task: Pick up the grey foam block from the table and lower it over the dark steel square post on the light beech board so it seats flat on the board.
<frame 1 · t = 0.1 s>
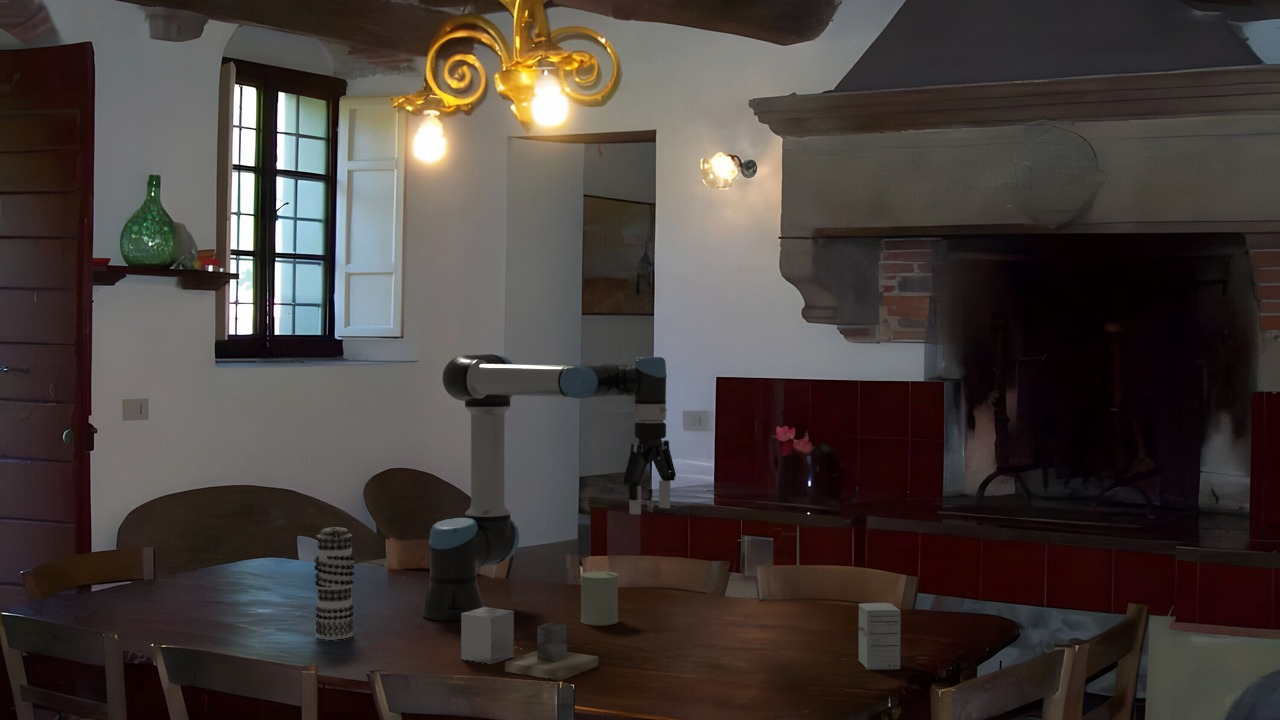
hand: (650, 510, 318), 28 cm above the table, fingers open, 13 cm apart
grey foam block: (487, 658, 288), on the table
can: (599, 622, 326), on the table
post board: (552, 668, 279), on the table
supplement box: (879, 666, 283), on the table
white and black cylinder: (334, 637, 309), on the table
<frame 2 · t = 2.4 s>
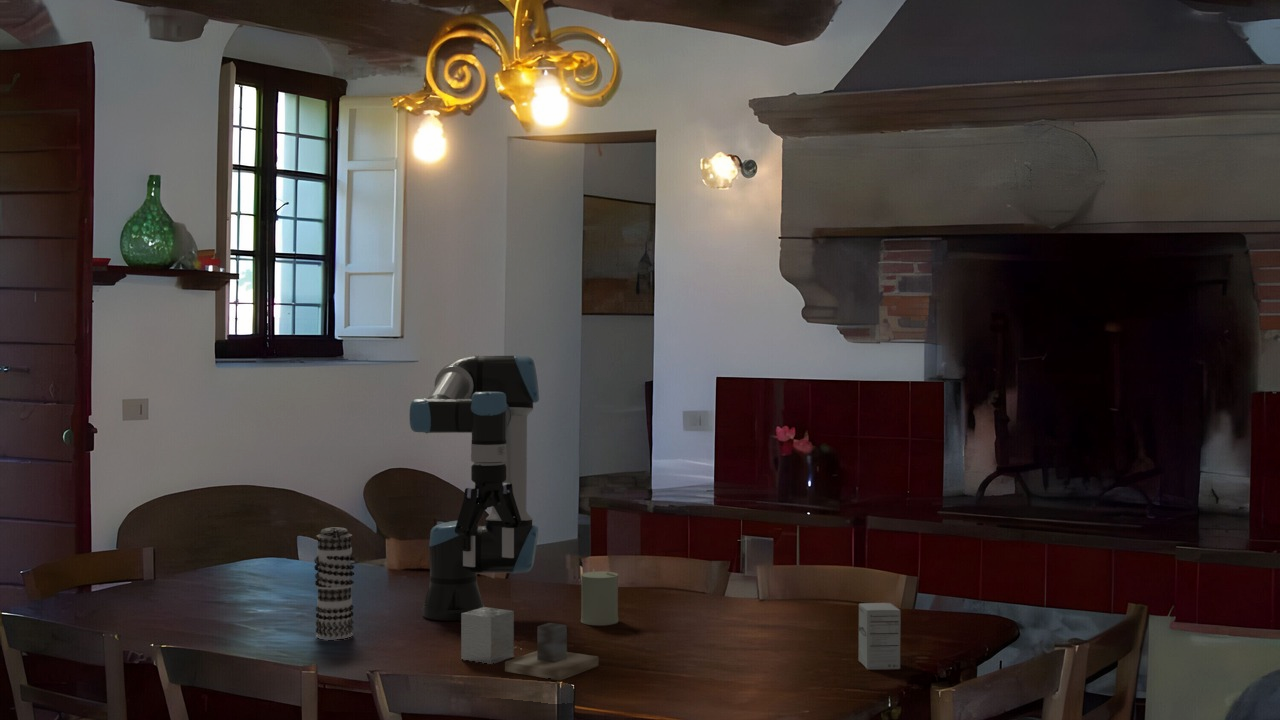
hand: (488, 562, 288), 21 cm above the table, fingers open, 13 cm apart
nothing on the table moved.
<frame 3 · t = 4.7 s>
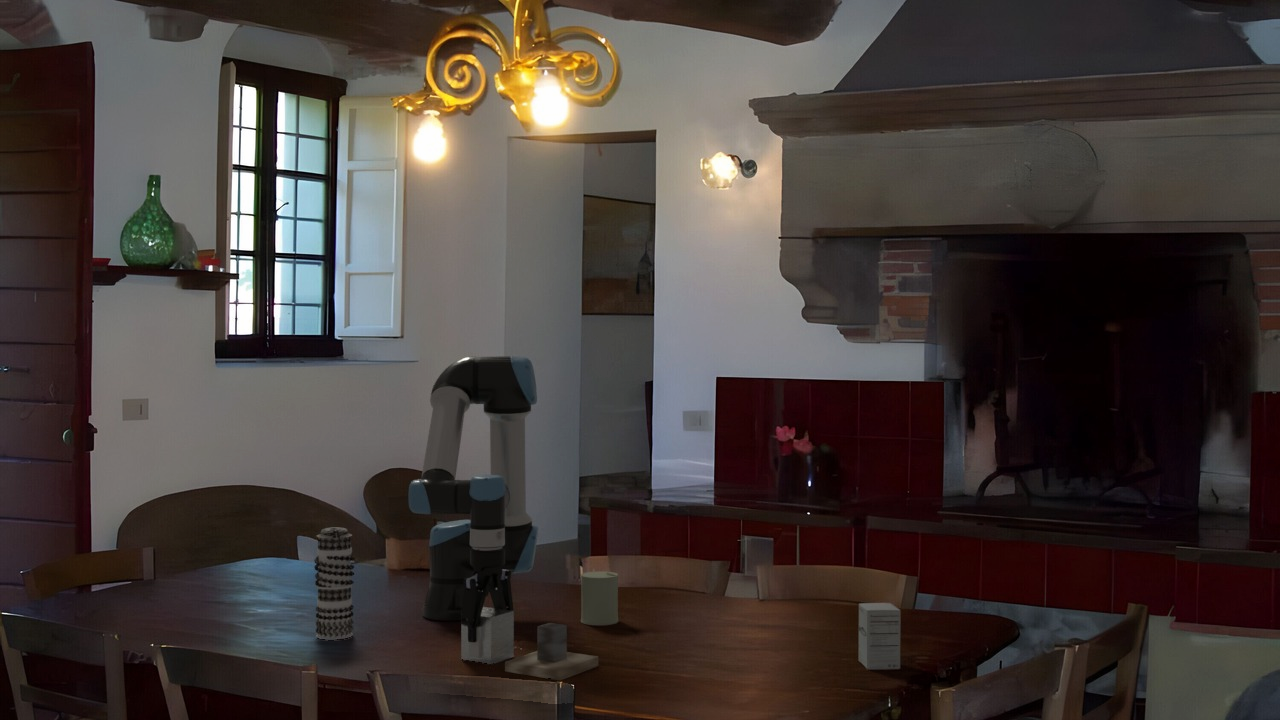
hand: (487, 652, 288), 1 cm above the table, fingers closed on grey foam block, 8 cm apart
grey foam block: (487, 658, 288), on the table, touching gripper
everything else where it was.
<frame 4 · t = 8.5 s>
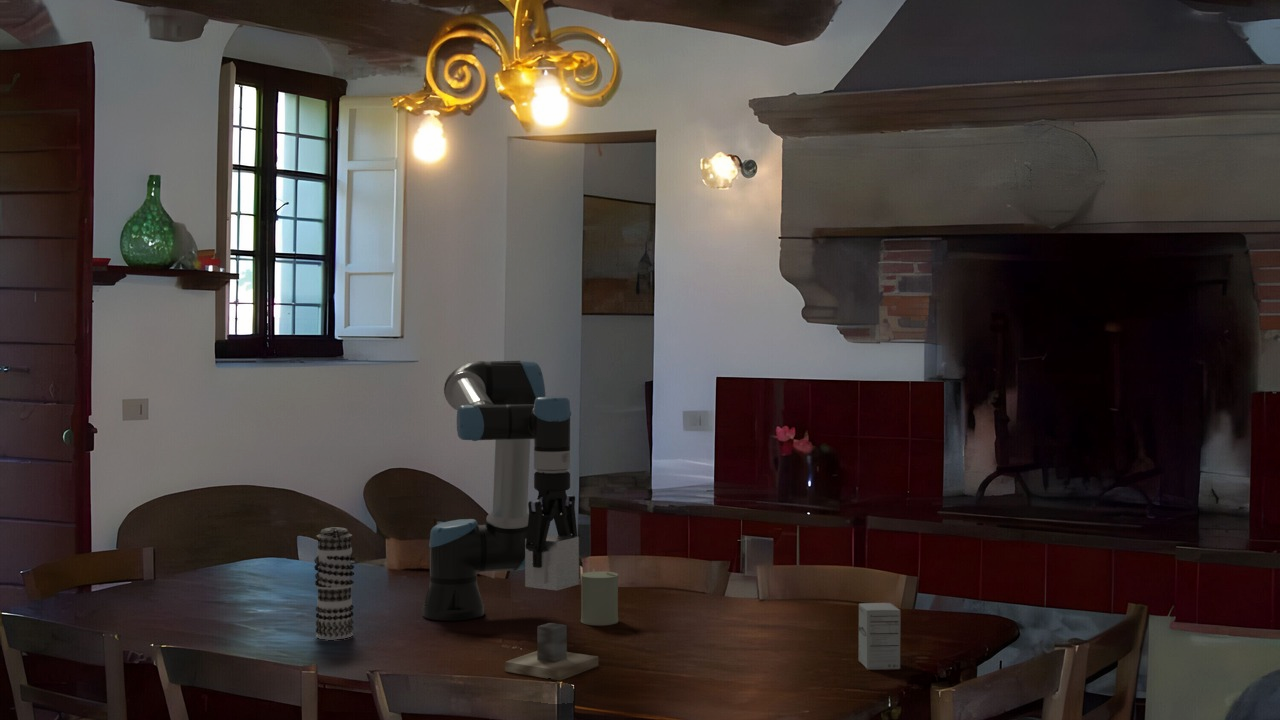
hand: (552, 579, 279), 19 cm above the table, fingers closed on grey foam block, 8 cm apart
grey foam block: (552, 585, 279), point 17 cm above the table, touching gripper
everything else where it was.
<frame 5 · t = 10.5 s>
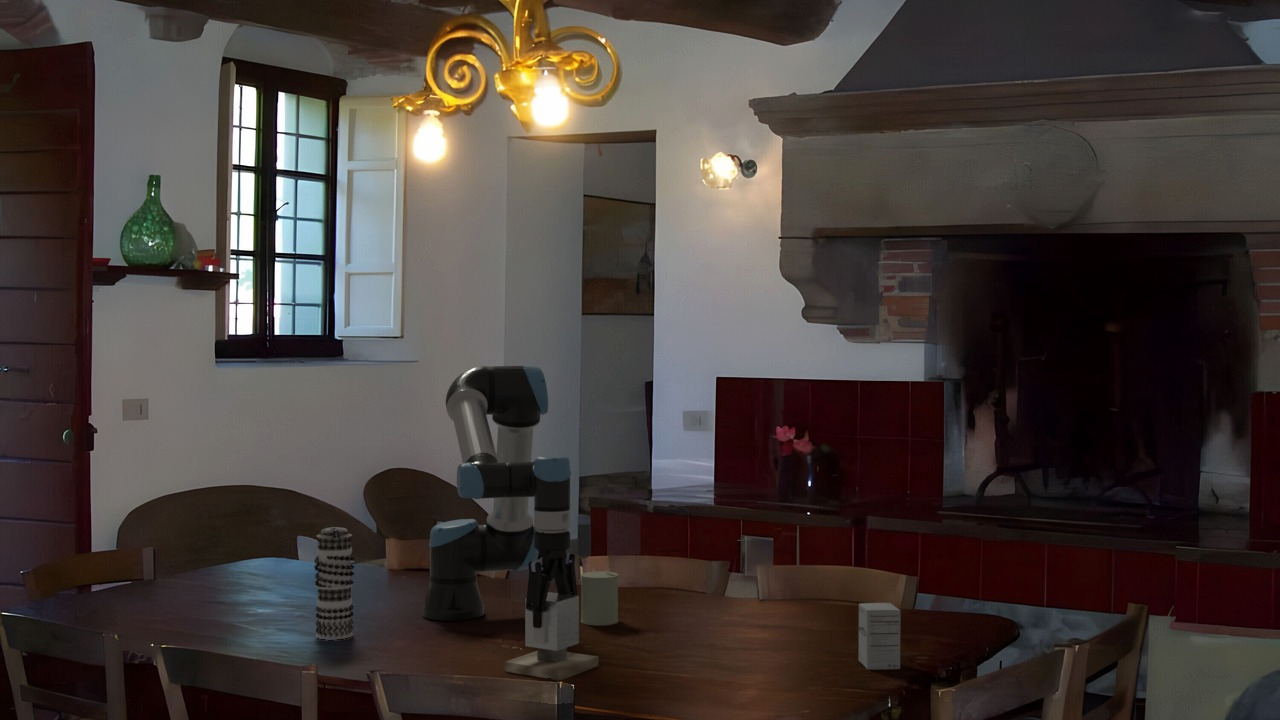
hand: (552, 638, 279), 6 cm above the table, fingers closed on grey foam block, 8 cm apart
grey foam block: (552, 644, 279), point 5 cm above the table, touching gripper
everything else where it was.
when the fingers open (5 cm above the table, at t = 12.1 s): grey foam block drops 1 cm, resting on post board.
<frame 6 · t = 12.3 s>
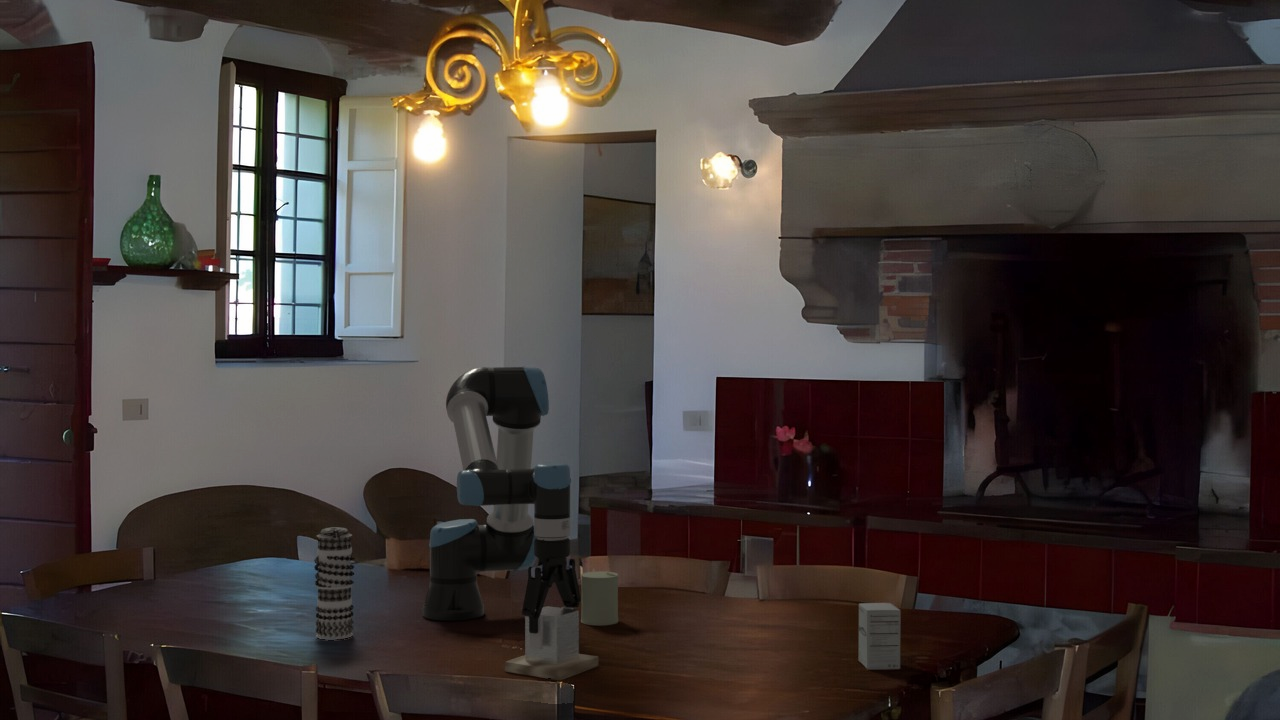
hand: (552, 643, 279), 5 cm above the table, fingers open, 10 cm apart
grey foam block: (552, 659, 279), point 2 cm above the table, touching post board
everything else where it was.
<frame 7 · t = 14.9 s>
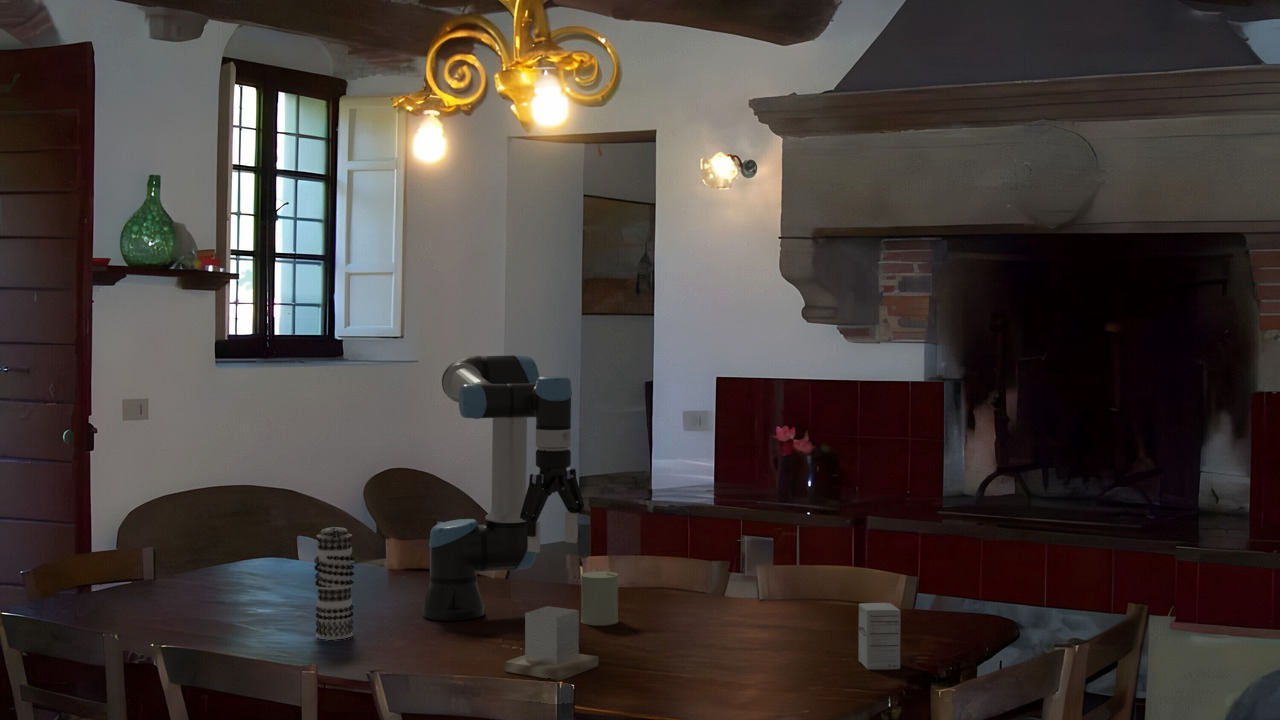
hand: (552, 547, 287), 24 cm above the table, fingers open, 13 cm apart
nothing on the table moved.
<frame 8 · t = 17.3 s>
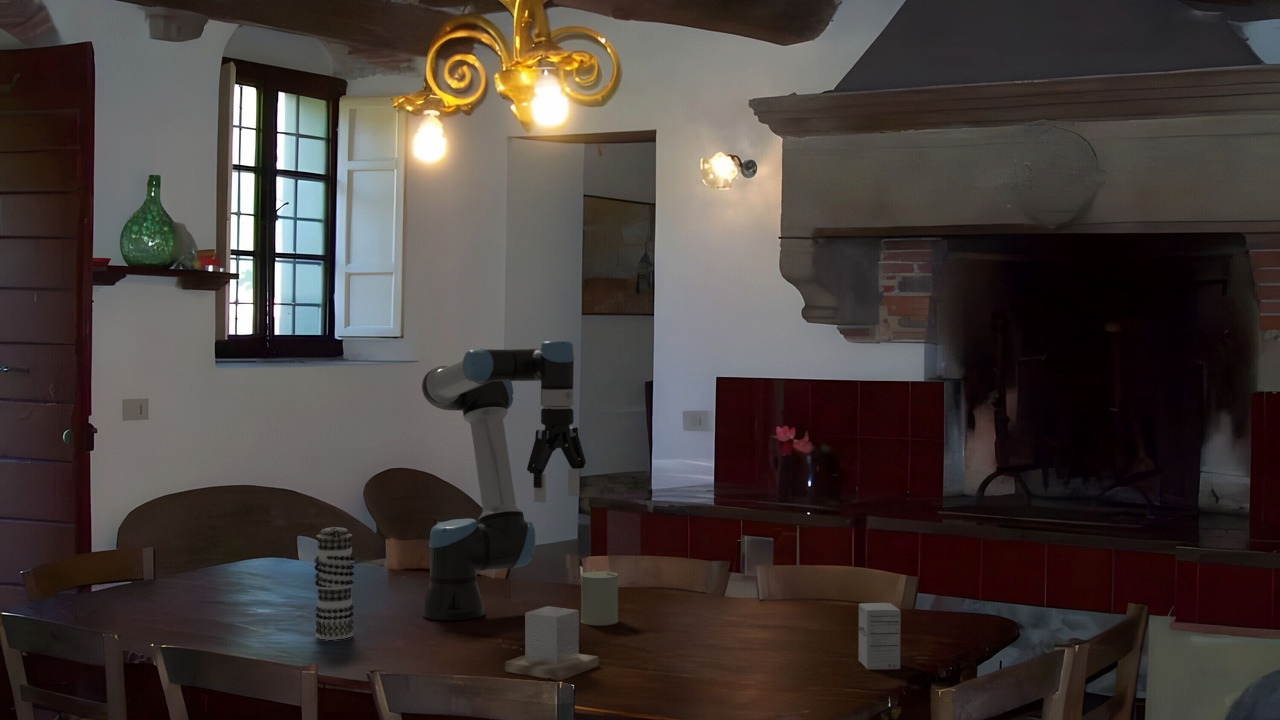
hand: (557, 499, 310), 32 cm above the table, fingers open, 13 cm apart
nothing on the table moved.
at the end: grey foam block 0.0 cm off-centre on the post board, point 2.0 cm above the post board's base; grey foam block tilted 0°; the gripper is holding nothing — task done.
